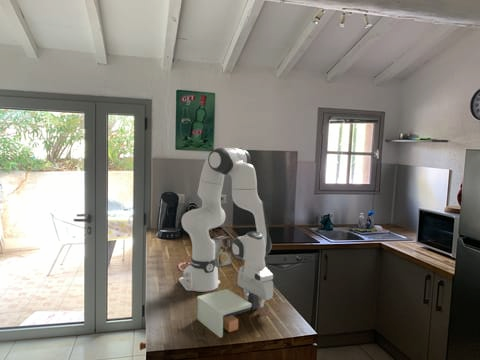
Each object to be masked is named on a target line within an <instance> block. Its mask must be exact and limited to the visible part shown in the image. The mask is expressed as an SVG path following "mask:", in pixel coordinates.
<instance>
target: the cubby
mask: <svg viewBox="0 0 480 360" xmlns="http://www.w3.org/2000/svg"><path fill="white" fill-rule="evenodd" d="M249 307H252V304H251V303H250V302H248V300H247V299H245V298H243V297H242V296H239V295H237V294H236V293H235V292H233V291H231V290H229V289H227V288H225V289H222V290H218V291H217V290H216V291H214V292H209V293H206V294H202V295H198V296H197V297H196V320H198V321H199V323H201V324H202V325H204V327H207V329H209V331H211V332H212V333H214V334H215V335H216V336H217V337H218V338H220V339H221V338H223V336H224V328H223V315H226V314H229V313H233V312H236V311H239V310H243V309H246V308H249Z"/></svg>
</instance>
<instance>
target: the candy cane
mask: <svg viewBox="0 0 480 360" xmlns="http://www.w3.org/2000/svg"><path fill="white" fill-rule="evenodd" d="M190 263H191V262H185V261H184V262H181V263H179V264H178V265H177V269H178V270H179V271H180V272H181V273H184V270H185V269H183V268H182V267H181V266H182V265H188V266H189V265H190Z"/></svg>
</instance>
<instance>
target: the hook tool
mask: <svg viewBox="0 0 480 360" xmlns="http://www.w3.org/2000/svg"><path fill="white" fill-rule="evenodd" d="M247 301H248V302H250V303H251V304H252V307H249V308H246V309H243V310H239V311H236V312H233V313H229V314H226V315H223V321H224V317H228V316H231V315H233V316H234V317H235V316H236V315H240V314H243V312H244V313H247V312H249V311H255V310H258V309H259V306H258V305H259V304H258V303H259V296H257V295H255V294H253V293H251V292H250V293H249V294H248V300H247Z"/></svg>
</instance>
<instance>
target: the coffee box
mask: <svg viewBox="0 0 480 360" xmlns="http://www.w3.org/2000/svg"><path fill="white" fill-rule="evenodd" d="M212 239H213V240H214V242H215V258H216V267H217V268H219V267H224V266H228V265H231V264H232V237H231V236H228V235H220V236H213V237H212Z"/></svg>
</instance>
